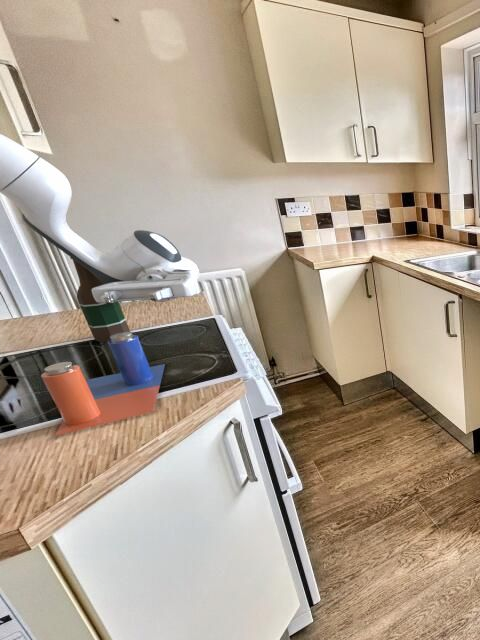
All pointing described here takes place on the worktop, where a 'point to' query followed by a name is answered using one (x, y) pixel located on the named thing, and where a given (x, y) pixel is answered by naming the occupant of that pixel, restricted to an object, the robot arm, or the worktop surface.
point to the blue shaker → (130, 358)
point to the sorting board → (119, 399)
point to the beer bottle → (98, 308)
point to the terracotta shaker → (70, 393)
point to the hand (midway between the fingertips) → (129, 298)
